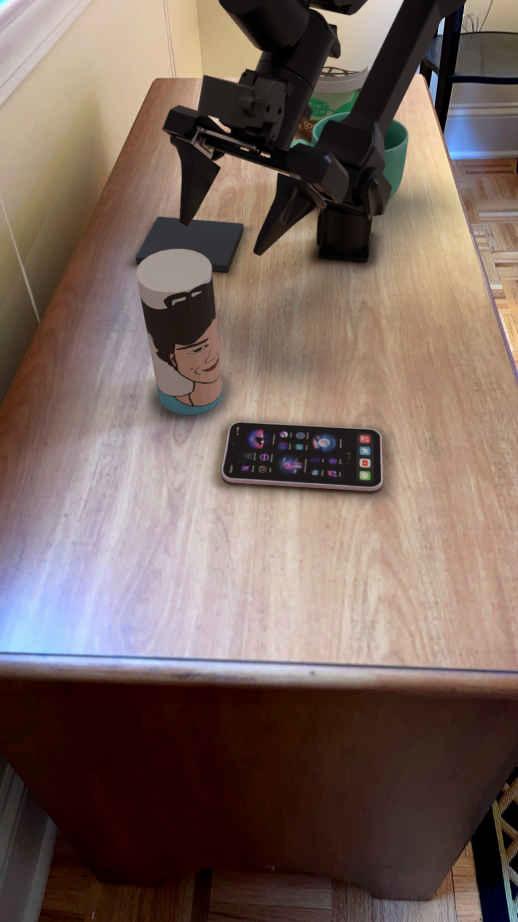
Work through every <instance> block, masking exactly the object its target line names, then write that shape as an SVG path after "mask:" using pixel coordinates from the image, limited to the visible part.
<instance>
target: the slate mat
mask: <svg viewBox="0 0 518 922" xmlns="http://www.w3.org/2000/svg"><path fill="white" fill-rule="evenodd" d="M179 218H180V217H169V216H157V217H156V219H155V220H154V222H153V224H152V226H151V228H150V230H149V232H148V233H147V236H146V237H145V239H144V241H143V243H142V244H141V246H140V248H139V250H138V251H137V253H136V255H135V261H136V264H137V265H140V263H141V262H142V261H143V260H144V259H146V258H147V257H148V256H150V255H152V254H155V253H157V252H160V251H164V250H169V249H186V250H193V251H195V252H198V253H200V254H203V255H204V256H205V257H206V258H207V259H209V261H210V263H211V265H212V272H221V273H228V272H229V269H230V267H231V264H232V262H233V259H234V256H235V254H236V251H237V249H238V245H239V243H240V241H241V239H242V235H243V234H244V230H245V229H244V228H245V227H244V223H242V222H241V223H240V222H229V221H219V220H218V221H217V220H205V219H194V218H193V219H192V221H191V222H190V224H189V225H188V226H184V225H182V224H181V223H180V222H179Z"/></svg>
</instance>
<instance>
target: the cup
mask: <svg viewBox="0 0 518 922" xmlns="http://www.w3.org/2000/svg"><path fill="white" fill-rule="evenodd" d="M135 276H136V281H137V287H138V291H139V297H140V303H141V308H142V313H143V319H144V325H145V330H146V337H147V340H148V346H149V351H150V357H151V362H152V366H153V367H152V368H153V373H154V378H155V382H156V389H157V394H158V395H157V396H158V398H159V401H160V404H161V405H162V406H163V407H164V408H165V410H168V411H169V412H171V413H174V414H176V415H181V416H196V415H199V414H203V413H206V412H208V411H210V410H212V409H213V408H214V407H215V406H216V405H218V404H219V402H220V401H221V398H222V397H223V379H222V378H223V377H222V365H221V357H220V347H219V346H220V344H219V335H218V334H219V333H218V322H217V310H216V299H215V288H214V277H213V271H212V265H211V263H210V261H209V259H207V258H206V257H205V256H204V255H203V254H200V253H198V252H195V251H193V250H186V249H169V250H164V251H160V252H157V253H155V254H152V255H150V256H148V257H147V258H146V259H144V260H143V261H142V262H141V263H140V264H138V266H137V267H136V272H135Z"/></svg>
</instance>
